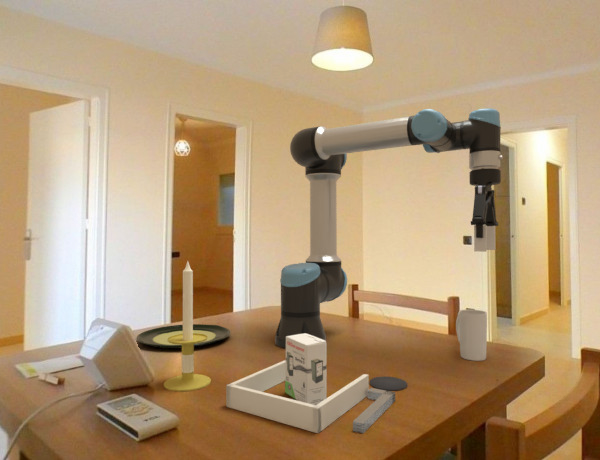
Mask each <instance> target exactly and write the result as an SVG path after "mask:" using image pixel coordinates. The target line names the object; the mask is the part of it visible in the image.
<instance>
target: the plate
mask: <svg viewBox="0 0 600 460" xmlns="http://www.w3.org/2000/svg"><path fill="white" fill-rule="evenodd" d="M193 333H198V334H204V335H206V336H208V338H207V340H205V341H203V342H200V343H196V344H194V348H196V347H202V346H207V345H212V344H215V343H218V342H220V341H222V340H224V339H226V338H228V337H229V336H230V335H231V333H232V332H231V330H230V329H229V328H227V327H224V326H221V325H218V324H217V325H216V324H200V323H198V324H197V323H196V324H194V323H193ZM179 334H183V324H174V325H173V324H172V325H167V326H161V327H160V326H159V327H156V328H151V329H148V330H145V331H143V332H140V333H138V335H137V336H136V338H135V339H136V341H137V342H139V343H140V344H142V345H146V346H149V347H153V348H160V349H161V348H163V349H182V345H180V344H172V343H169V342H168V340H167V339H168V338H169V337H171V336H174V335H179Z"/></svg>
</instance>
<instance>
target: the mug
mask: <svg viewBox="0 0 600 460" xmlns="http://www.w3.org/2000/svg"><path fill="white" fill-rule="evenodd" d="M487 328H488V312H486V311H485V310H481V309H480V310H479V309H461V310H459V311H458V312H457V317H456V320H455V331H456V336H457V341H458V343H459V346H460V347H459V350H460V352H459V353H460V357H461V358H462V359H464V360H468V361H473V362H480V361H481V362H482V361H486V359H487V345H488V344H487V341H488V340H487V339H488V337H487V335H488V334H487V333H488V331H487V330H488V329H487Z"/></svg>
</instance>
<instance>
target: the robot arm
mask: <svg viewBox="0 0 600 460" xmlns="http://www.w3.org/2000/svg"><path fill="white" fill-rule="evenodd" d="M500 115H501V114H500V111H498V110H497V109H495V108H488V107H487V108H479V109H476V110H473V111H471V112H470V113H469V115H468V119H466V120H462V121H455V122H451V121H450V120H448V118H446V116H445V115H444V114H443V113H441V112H440V111H437V110H435V109H433V108H426V109H425V108H424V109H422V110H420V111H418V112H417V113H416V114H415V115H410V116H403V117H397V118H395V117H394V118H388V119H385V120H384V119H383V120H377V121H371V122H364V123H359V124H358V123H357V124H351V125H346V126H345V125H344V126H339V127H331V128H327V127H326V126H324V125H323V126H315V127H307V128H304V129H301V130H299V131H297V132H296V133H295V134H294V136H293V137H292V139H291V141H290V145H289V149H290V150H289V151H290V155H291V157H292V159H293V160H294V162H295V163H297V164H298V165H299V166H301V167H304V168H305V169H304V170H305V171H304V172H305V173H304V174H305V178H306V179H307V180H308V181H309V192H310V193H309V200H310V201H309V203H310V204H309V206H310V207H309V218H310V219H309V220H310V221H309V227H310V228H309V239H310V242H309V244H310V245H309V246H310V247H309V249H310V250H309V252H310V253H309V254H310V255H308V257H307V258H306V259H305V262H298V263H292V264H288V265H285V266H284V267H282V269H281V270H280V271H281V272H280V273H281V274H280V280H279V282H280V320H279V323H278V326H277V328H276V332H275V336H274V344H275V345H276V346H277V347H280V348H283V349H286V336H291V335H297V334H304V333H307V334H309V335H312V336H315V337H318V338H320V339H323V340H325V341H326V342H327V336H326V332H325V328H324V326H323V323H322V319H321V304H322V303H326V302H327V303H328V302H331V301H335V300H336V299H339V298H340V297H341V296H342V295H343V294H344V293H345V291H346V289H347V286H348V277H347V276H348V275H347V274H346V272H345V271H344V269H343V268H342V259H341V258H340V257H339V256H338V255H337V254H338V251H337V240H338V239H337V237H338V236H337V235H338V234H337V233H338V232H337V230H338V229H337V182H338V180H339V179H340V178H341V177H342V169H343V168H344V166H345V164H346V162H347V159H348V157H347V154H352V153H353V154H354V153H361V152H368V151H369V152H371V151H377V150H387V149H393V148H395V149H396V148H402V147H409V146H410V147H411V146H412V147H413V146H421V145H422V147H423V149H424V151H425V152H426V153H430V154H432V153H436V154H440V153H442V152H451V151H461V150H469V155H468V158H469V159H468V164H469V165H468V169H470V171H469V185H471V186H474V200H473V209H472V219H471V220H470V225H471V226H473V234H474V235H473V241H474V242H473V244H474V245H473V247H474V248H473V250H474V252H482V253H483V252H484V253H485V252H487V251H488V250H489V251H496V227H498V226H499V222H497V215H496V214H497V212H496V203H495V190H494V189H493V188H492V186H496V185H499V184H501V181H502V176H501V174H502V172H501V169H500V167H501V160H503V159H504V156H503V155H502V154H501V132H502V131H501V129H502V128H501V118H500V117H501V116H500Z"/></svg>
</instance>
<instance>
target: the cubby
mask: <svg viewBox="0 0 600 460" xmlns="http://www.w3.org/2000/svg"><path fill="white" fill-rule="evenodd" d="M285 360H286V359H284V360H282V361H280V362H278V363H274V364H273V365H270V366H268V367H266V368H264V369H261V370H258V371H257V372H254V373H251V374H250V375H247V376H245V377H243V378H240V379H238V380H236V381H233V382H231V383H229V384H226V387H225V388H226V390H225V391H226V392H225V393H226V396H225V397H226V400H225V402H226V405H225V406H226V407H227V408H230V409H233V410H237V411H240V412H244V413H246V414H251V415H254V416H258V417H261V418H265V419H267V420H271V421H274V422H277V423H281V424H285V425H288V426H291V427H295V428H297V429H298V428H299V429H301V430H306V431H309V432H312V433H315V434H319V433H321V431H323V430H325V429H326V428H327V427H328V426H329V425H331V424H333V422H335V421H336V420H338V419H339V418H340V417H341V416H343V415H345V414H346V413H347V412H348V411H350V410H351V409H352V408H353V407H355V406H356V405H357V404H359V403H360V402H361V401H363V400H364V399H365V398H366V397H368V390H369V389H370V380H369V379H370V378H369V377H370V375H369V374H367V373H366V374H365V373H363V374H362V375H360V376H359V377H357V378H356V379H354V380H352V381H351V382H349V383H348V384H347V385H344V386H343V387H342V388H340V389H339V390H337V391H336V392H334V393H332V394H331V395H330V396H328V397H327V398H326V399H325V400H323V401H322V402H320V403H319V404H315V405H313V404H309V403H305V402H301V401H298V400H296V399H294V398H288V397H284V396H280V395H276V394H272V393H270V392H265V391H267V390H269V389H271V388H273V387H275V386H278V385H279V384H282V383H283V382H285Z"/></svg>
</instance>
